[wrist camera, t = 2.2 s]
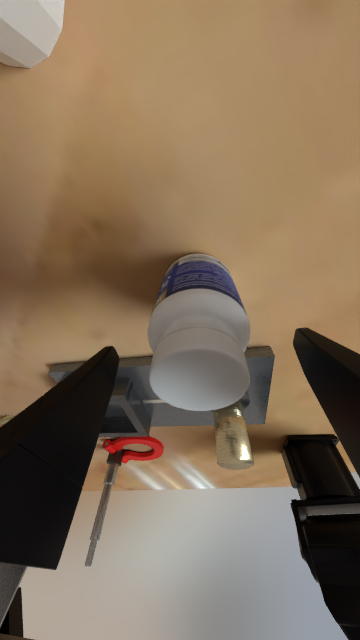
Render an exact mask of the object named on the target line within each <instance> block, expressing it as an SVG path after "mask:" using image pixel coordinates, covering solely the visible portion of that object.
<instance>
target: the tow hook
mask: <svg viewBox="0 0 360 640" xmlns="http://www.w3.org/2000/svg"><path fill="white" fill-rule="evenodd" d="M135 443H137V444H144V445H148V446H150V447H152V448H153V449H154V450H153V451H150V452H146V453H137V452H132V451H125V452H124V450H123V449H122V448H123V446H125V445H127V444H135ZM103 448H104V449H105V450H107V451H108V452H109V455H108V459H107V463H108V464H109V465H108V469H107V472H106V475H105V479H104V489H103V492H102V496H101V500H100V504H99V507H98V511H97V515H96V518H95V522H94V526H93V529H92V533H91V537H90V540H91V543H90V547H89V551H88V555H87V558H86V562H85V566H91V564H92V559H93V556H94V551H95V548H96V544H97V540H99V537H100V534H101V530H102V525H103V521H104V517H105V513H106V509H107V505H108V501H109V497H110V492H111V489H112V486H113V485H114V483H115V479H116V474H117V470H118V466H121V463H122V462H123V463H127V462H128V461H129V460H139V461H145V460H153V459H156V458H158V457H160V456H161V455H162V454H163V448H164V447H163V444H162V443H161V442H160V441H158V440H157V439H155V438H152V437H149V436H148V437H120V438H118V439H117V440H115V441H111V440H109V439H107V440H106V441H105V442H104V443H103Z"/></svg>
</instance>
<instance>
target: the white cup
mask: <svg viewBox="0 0 360 640" xmlns="http://www.w3.org/2000/svg"><path fill="white" fill-rule="evenodd" d="M64 2H65V0H0V62H1V63H3V64H5V65H8V66H15V67H23V68H32V67H34V66H35V65H37V64H39V63H40V62H42V61H43V60H45V59H47V58H48V57H50V55H51V52H52V50H53V48H54V46H55V44H56V42H57V40H58V37H59V35H60V33H61V31H62V24H63V13H64Z"/></svg>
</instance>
